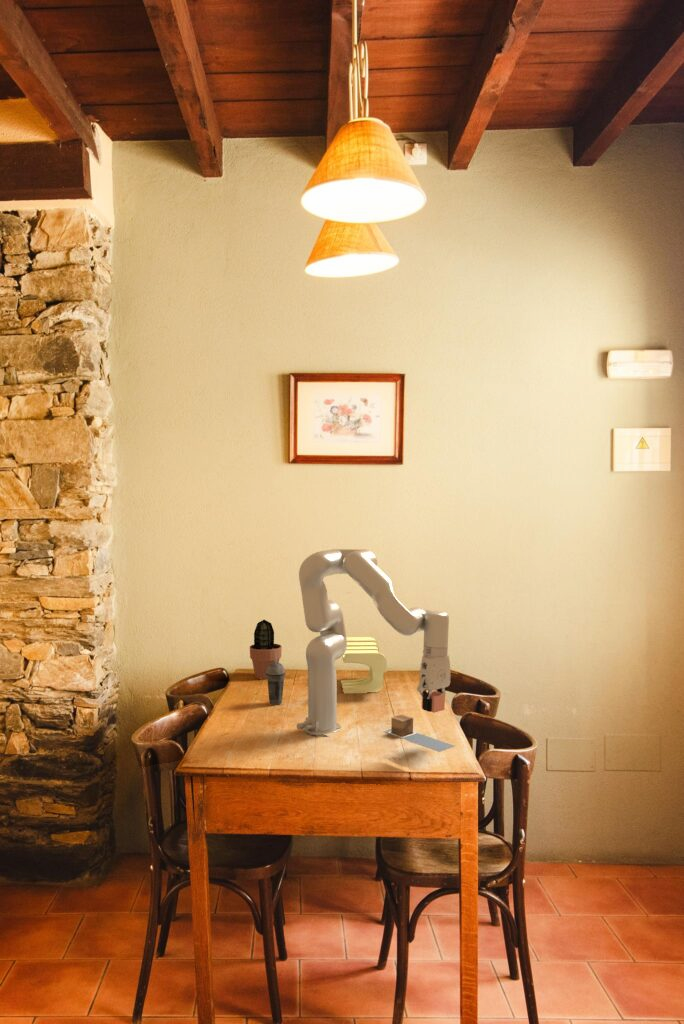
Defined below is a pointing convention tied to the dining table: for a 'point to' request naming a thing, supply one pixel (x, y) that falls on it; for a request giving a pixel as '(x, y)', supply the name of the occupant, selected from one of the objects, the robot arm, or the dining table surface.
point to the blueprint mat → (424, 741)
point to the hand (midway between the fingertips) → (433, 708)
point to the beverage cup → (275, 682)
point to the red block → (437, 701)
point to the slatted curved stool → (367, 654)
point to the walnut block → (402, 725)
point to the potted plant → (264, 649)
